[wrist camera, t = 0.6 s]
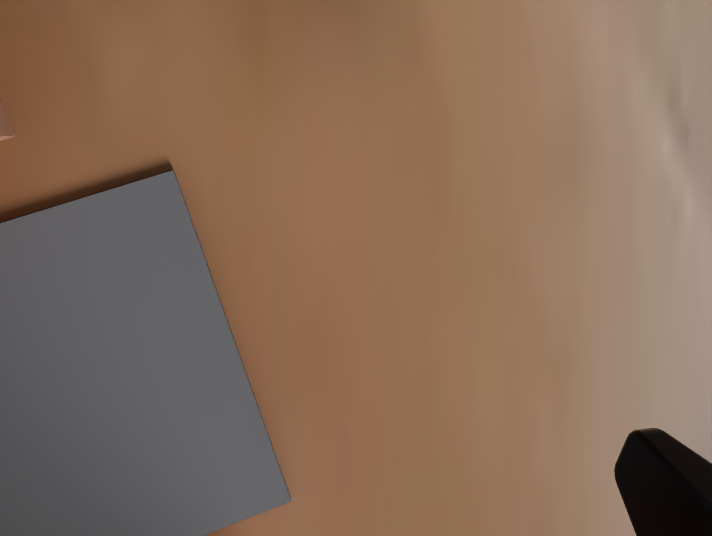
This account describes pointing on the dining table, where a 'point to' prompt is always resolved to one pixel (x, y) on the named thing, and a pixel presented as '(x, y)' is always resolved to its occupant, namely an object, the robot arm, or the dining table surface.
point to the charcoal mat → (122, 376)
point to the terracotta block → (5, 125)
